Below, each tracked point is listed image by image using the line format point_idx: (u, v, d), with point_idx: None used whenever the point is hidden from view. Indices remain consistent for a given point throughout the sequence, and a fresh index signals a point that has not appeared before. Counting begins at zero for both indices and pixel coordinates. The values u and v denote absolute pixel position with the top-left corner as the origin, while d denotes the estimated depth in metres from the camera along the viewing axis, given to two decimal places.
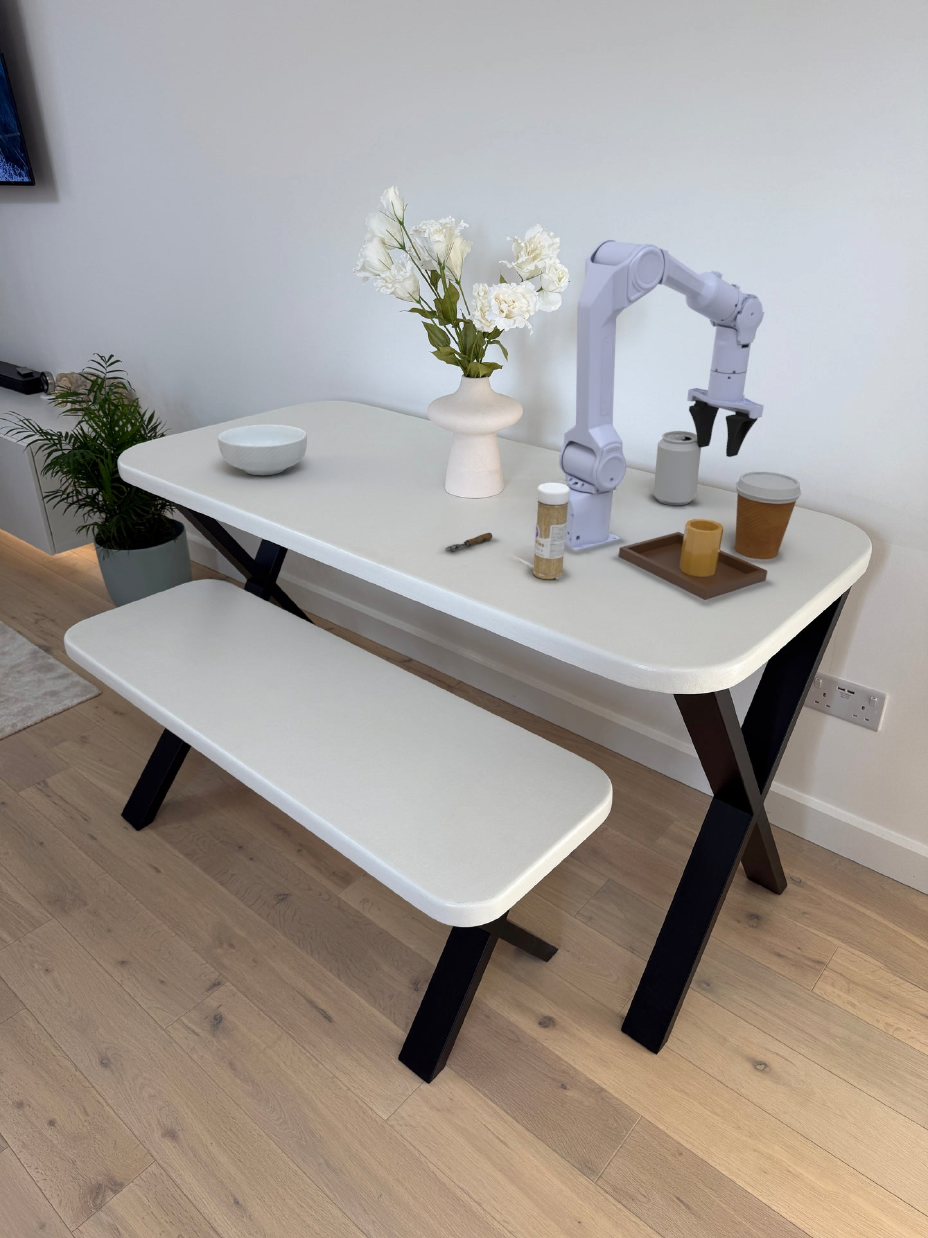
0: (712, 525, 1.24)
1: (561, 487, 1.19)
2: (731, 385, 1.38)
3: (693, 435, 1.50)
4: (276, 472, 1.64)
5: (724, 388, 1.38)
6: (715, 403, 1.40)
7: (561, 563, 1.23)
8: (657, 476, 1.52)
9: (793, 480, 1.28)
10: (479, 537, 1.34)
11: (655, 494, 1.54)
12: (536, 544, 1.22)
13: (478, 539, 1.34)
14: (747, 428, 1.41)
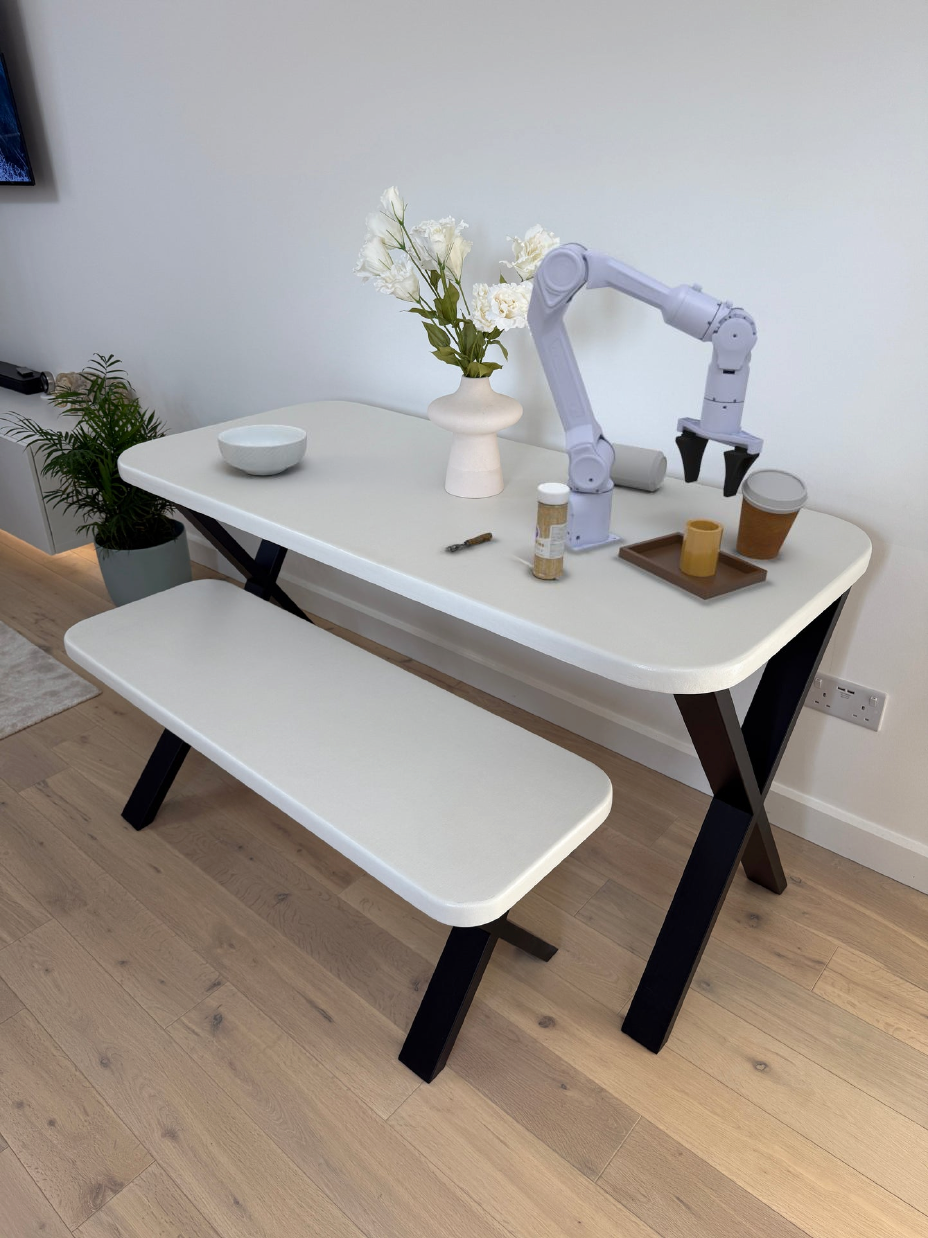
0: (712, 525, 1.24)
1: (561, 487, 1.19)
2: (727, 415, 1.21)
3: None
4: (276, 472, 1.64)
5: (719, 418, 1.21)
6: (708, 436, 1.23)
7: (561, 563, 1.23)
8: (629, 471, 1.57)
9: (801, 483, 1.25)
10: (479, 537, 1.34)
11: (647, 476, 1.55)
12: (536, 544, 1.22)
13: (478, 539, 1.34)
14: (747, 465, 1.24)
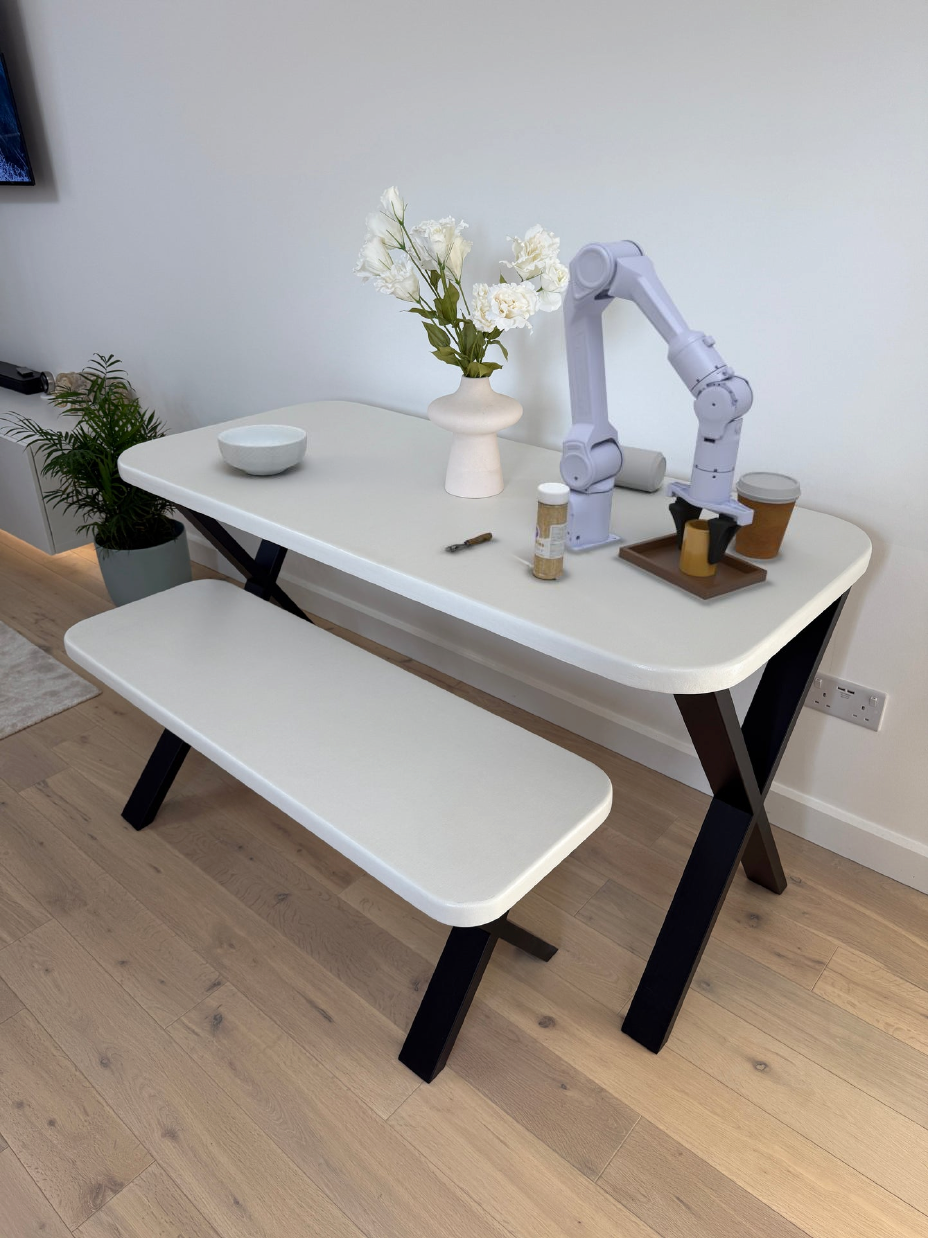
0: None
1: (561, 487, 1.19)
2: (716, 485, 1.17)
3: None
4: (276, 472, 1.64)
5: (708, 488, 1.18)
6: (697, 505, 1.19)
7: (561, 563, 1.23)
8: (628, 474, 1.57)
9: (793, 480, 1.28)
10: (479, 537, 1.34)
11: (646, 478, 1.55)
12: (536, 544, 1.22)
13: (478, 539, 1.34)
14: (732, 533, 1.21)
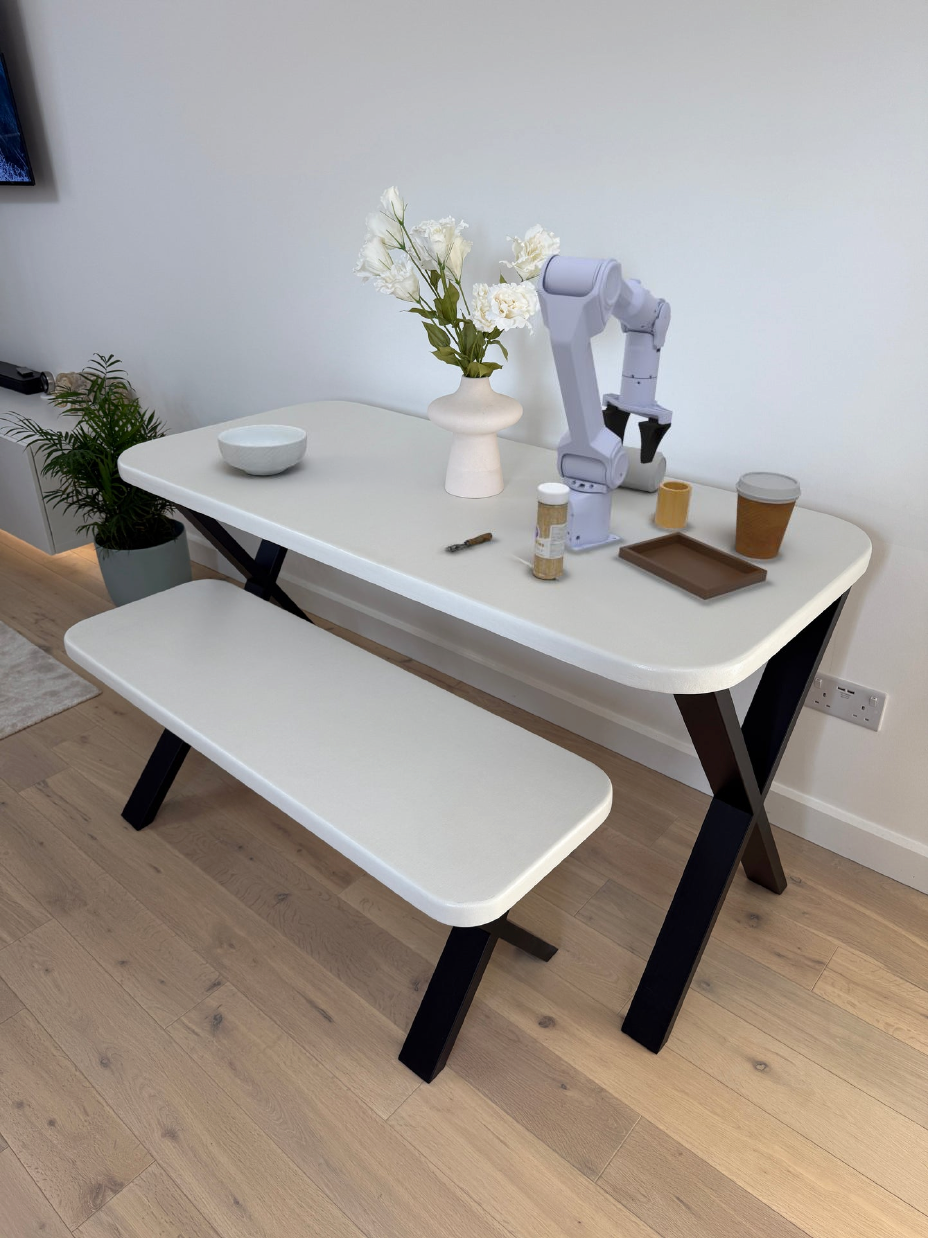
0: (682, 486, 1.42)
1: (561, 487, 1.19)
2: (640, 390, 1.37)
3: None
4: (276, 472, 1.64)
5: (634, 393, 1.37)
6: (625, 408, 1.39)
7: (561, 563, 1.23)
8: (628, 474, 1.57)
9: (793, 480, 1.28)
10: (479, 537, 1.34)
11: (646, 478, 1.55)
12: (536, 544, 1.22)
13: (478, 539, 1.34)
14: (661, 435, 1.39)
